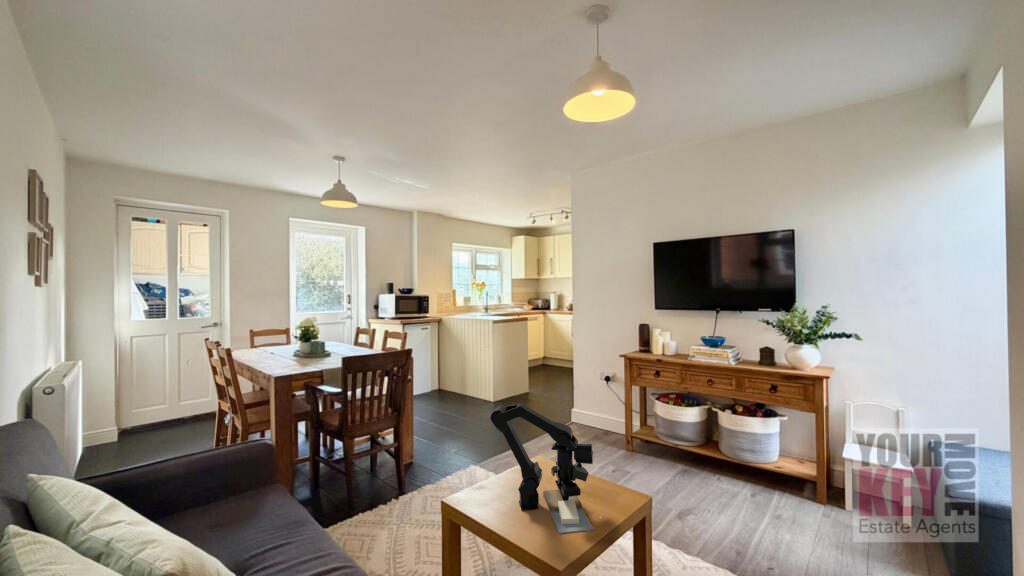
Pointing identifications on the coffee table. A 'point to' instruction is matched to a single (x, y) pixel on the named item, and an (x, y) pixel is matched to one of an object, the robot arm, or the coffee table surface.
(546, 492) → the plate
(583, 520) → the mat
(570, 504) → the tile
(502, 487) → the coffee table surface
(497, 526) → the coffee table surface
